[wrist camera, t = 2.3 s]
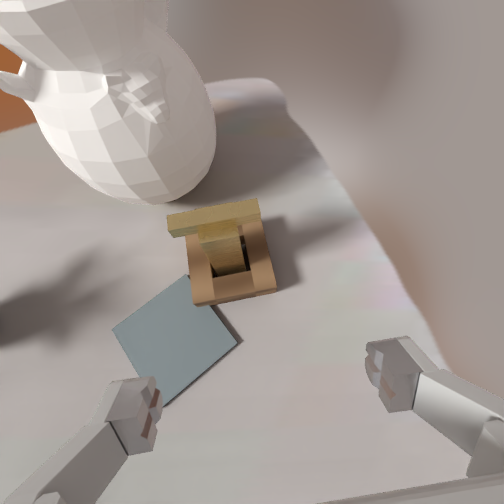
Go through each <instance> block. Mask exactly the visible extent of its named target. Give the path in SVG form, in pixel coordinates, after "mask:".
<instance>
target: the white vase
mask: <svg viewBox="0 0 504 504" xmlns="http://www.w3.org/2000/svg"><path fill="white" fill-rule="evenodd" d="M168 4H169V0H0V43H1V44H2V45H4V46H5V47H6V48H8V49H9V50H11V51H12V52H14V53H15V54H17V55H18V56H19V57H20V58H21V59H22V60H23V62H22V65H21V68H20V71H19V73H18V75H17V74H13V73H8V72H3V71H0V89H2V90H3V91H4V92H6V93H9V94H12V95H14V96H17V97H20V98H22V99H24V101H25V102H26V103H27V104H28V106H29V107H30V108H31V109H32V110H33V113H34V115H35V117H36V120H37V122H38V124H39V126H40V128H41V131H42V133H43V134H44V136H45V138H46V139H47V141H48V143H49V144H50V145H51V147H52V148H53V149H54V151H55V152H56V153H57V155H58V156H59V158H60V159H61V160H62V162H63V163H64V164H65V165H66V166H67V167H68V168H69V169H71V170H72V171H73V172H74V173H75V174H76V175H78V176H79V177H80V178H81V179H82V180H84V181H85V182H86V183H87V184H89V185H90V186H91V187H92V188H94V189H96V190H98V191H100V192H102V193H105V194H107V195H109V196H111V197H114V198H117V199H119V200H122V201H125V202H127V203H131V204H144V205H158V204H162V203H165V202H169V201H173V200H176V199H178V198H180V197H181V196H183V195H185V194H186V193H188V192H189V191H191V190H192V189H194V188H195V187H196V186H197V184H198V183H199V182H200V181H201V180H202V179H203V178H204V176H205V175H206V174H207V173H208V171H209V168H210V166H211V163H212V161H213V158H214V154H215V148H216V124H215V116H214V110H213V107H212V104H211V102H210V99H209V96H208V94H207V91H206V88H205V86H204V84H203V82H202V79H201V77H200V75H199V73H198V71H197V70H196V68H195V66H194V65H193V63H192V62H191V60H190V59H189V57H188V55H187V54H186V52H185V51H184V50H183V49H182V48H181V47H180V46H179V45H178V44H177V43H176V42H175V41H174V40H173V39H172V38H171V37H170V36H169V35H168V34H167V13H168Z"/></svg>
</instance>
